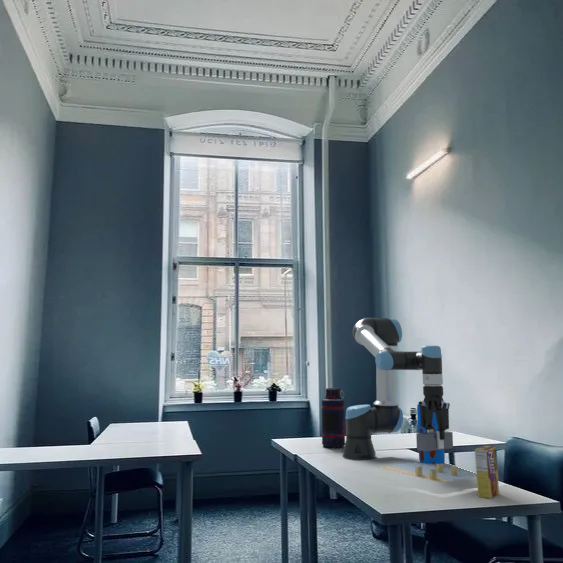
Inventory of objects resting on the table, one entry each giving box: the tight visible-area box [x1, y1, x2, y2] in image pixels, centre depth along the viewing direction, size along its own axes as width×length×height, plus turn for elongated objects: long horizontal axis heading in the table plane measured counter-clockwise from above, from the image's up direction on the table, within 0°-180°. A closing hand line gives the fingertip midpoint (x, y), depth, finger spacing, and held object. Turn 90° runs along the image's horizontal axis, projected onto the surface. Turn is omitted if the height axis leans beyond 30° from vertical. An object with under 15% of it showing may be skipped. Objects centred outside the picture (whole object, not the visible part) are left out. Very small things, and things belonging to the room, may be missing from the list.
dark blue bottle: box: [321, 387, 346, 449], centre depth 274 cm, size 14×12×30 cm
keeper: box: [415, 463, 459, 480], centre depth 198 cm, size 8×14×3 cm, turn 124°
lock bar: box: [415, 430, 454, 451], centre depth 199 cm, size 16×4×6 cm, turn 124°
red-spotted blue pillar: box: [416, 403, 446, 465], centre depth 228 cm, size 11×11×25 cm
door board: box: [378, 461, 477, 483], centre depth 205 cm, size 32×22×1 cm
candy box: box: [474, 445, 500, 499], centre depth 173 cm, size 9×4×15 cm, turn 140°
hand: (435, 447), depth 199 cm, fingers closed on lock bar, 4 cm apart
